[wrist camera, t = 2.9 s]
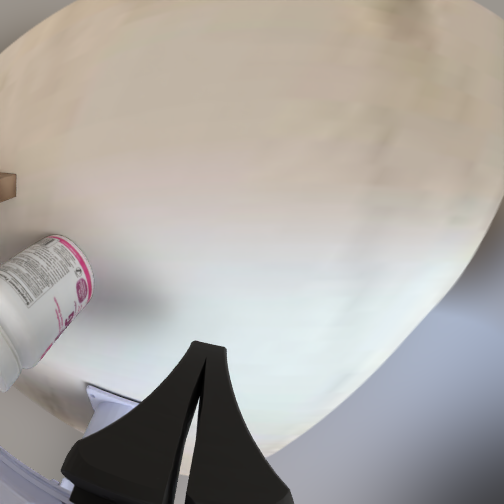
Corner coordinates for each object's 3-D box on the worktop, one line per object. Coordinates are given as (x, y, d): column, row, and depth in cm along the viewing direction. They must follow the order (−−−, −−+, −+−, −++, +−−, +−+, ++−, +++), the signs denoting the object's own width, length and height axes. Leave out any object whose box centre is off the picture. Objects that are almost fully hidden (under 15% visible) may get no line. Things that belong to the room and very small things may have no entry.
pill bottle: (88, 318, 15) (19, 414, 7) (36, 278, 14) (-43, 352, 6) (105, 260, 13) (5, 364, 5) (46, 218, 12) (-63, 284, 4)
